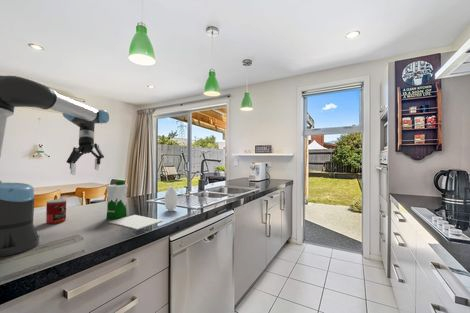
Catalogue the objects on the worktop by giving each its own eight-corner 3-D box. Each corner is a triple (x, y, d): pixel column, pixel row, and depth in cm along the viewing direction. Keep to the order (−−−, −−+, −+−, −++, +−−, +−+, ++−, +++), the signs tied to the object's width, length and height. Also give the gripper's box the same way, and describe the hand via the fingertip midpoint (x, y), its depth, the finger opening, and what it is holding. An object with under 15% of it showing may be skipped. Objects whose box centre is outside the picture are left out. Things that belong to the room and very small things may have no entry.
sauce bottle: (173, 212, 128) (174, 183, 128) (162, 212, 129) (162, 182, 130) (179, 209, 136) (179, 181, 136) (168, 209, 137) (168, 181, 137)
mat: (162, 221, 110) (162, 220, 110) (137, 229, 97) (137, 228, 97) (135, 215, 120) (135, 214, 120) (109, 222, 107) (109, 221, 107)
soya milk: (129, 215, 120) (129, 180, 120) (116, 220, 111) (117, 182, 111) (116, 214, 122) (116, 180, 122) (103, 219, 113) (103, 182, 113)
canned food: (54, 224, 103) (55, 202, 103) (41, 223, 104) (42, 201, 105) (69, 220, 110) (70, 199, 110) (57, 219, 112) (58, 198, 112)
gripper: (110, 137, 131) (110, 169, 124) (70, 144, 130) (67, 177, 123) (103, 132, 124) (102, 166, 117) (60, 140, 123) (57, 174, 116)
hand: (84, 172), depth 120 cm, fingers open, 13 cm apart
